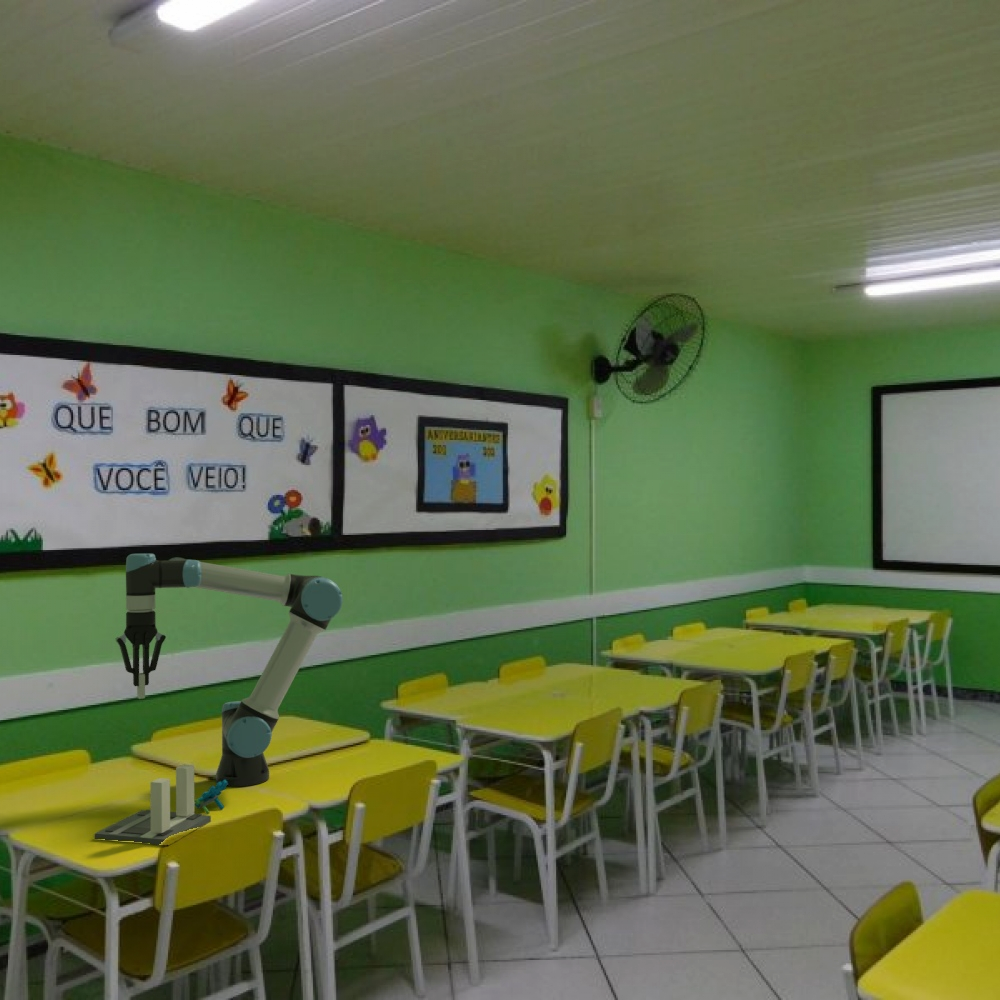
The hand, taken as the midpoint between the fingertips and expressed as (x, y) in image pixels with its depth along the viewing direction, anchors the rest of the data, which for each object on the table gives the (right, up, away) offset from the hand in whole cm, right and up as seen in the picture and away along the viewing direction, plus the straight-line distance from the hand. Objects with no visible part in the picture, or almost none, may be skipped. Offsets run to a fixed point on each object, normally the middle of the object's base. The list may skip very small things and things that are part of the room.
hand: (141, 697), depth 270 cm
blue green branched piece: (+20, -29, -6) cm, 36 cm away
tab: (+16, -26, -30) cm, 43 cm away
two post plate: (+12, -28, -24) cm, 39 cm away
